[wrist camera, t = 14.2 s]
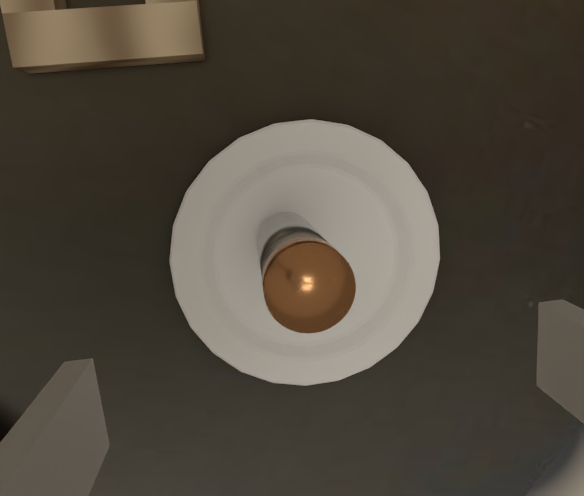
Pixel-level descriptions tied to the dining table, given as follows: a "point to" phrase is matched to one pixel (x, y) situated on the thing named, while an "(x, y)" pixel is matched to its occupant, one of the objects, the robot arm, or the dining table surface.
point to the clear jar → (302, 275)
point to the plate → (328, 223)
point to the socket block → (101, 34)
